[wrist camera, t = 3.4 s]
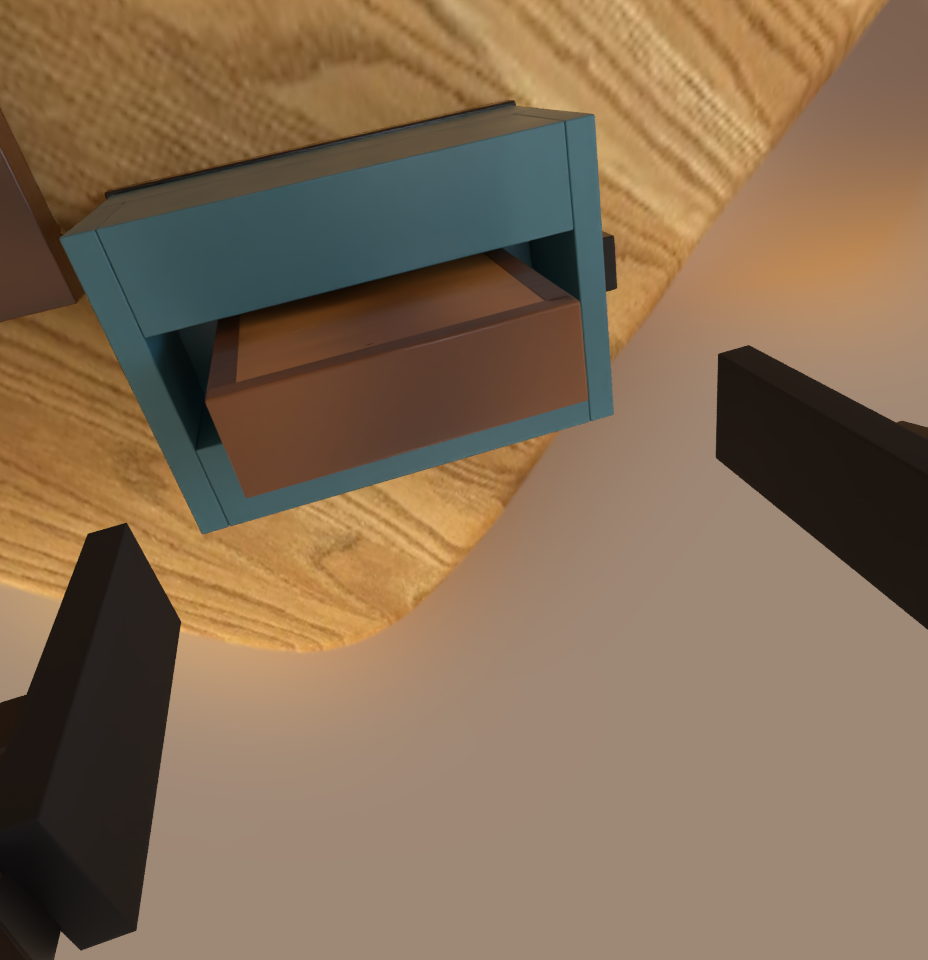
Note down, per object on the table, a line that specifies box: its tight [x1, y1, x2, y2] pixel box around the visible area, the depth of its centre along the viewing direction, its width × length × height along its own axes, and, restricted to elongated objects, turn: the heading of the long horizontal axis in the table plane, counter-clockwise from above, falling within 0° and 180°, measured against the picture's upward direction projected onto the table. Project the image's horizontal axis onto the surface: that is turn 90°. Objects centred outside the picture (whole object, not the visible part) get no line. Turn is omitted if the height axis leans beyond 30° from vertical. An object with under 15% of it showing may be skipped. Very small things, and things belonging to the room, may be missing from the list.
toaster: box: [60, 100, 617, 534], centre depth 27 cm, size 17×11×9 cm, turn 100°
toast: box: [205, 248, 588, 498], centre depth 23 cm, size 10×3×10 cm, turn 100°
